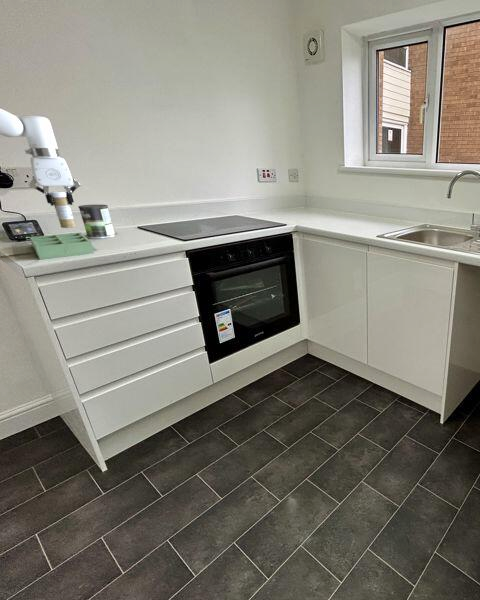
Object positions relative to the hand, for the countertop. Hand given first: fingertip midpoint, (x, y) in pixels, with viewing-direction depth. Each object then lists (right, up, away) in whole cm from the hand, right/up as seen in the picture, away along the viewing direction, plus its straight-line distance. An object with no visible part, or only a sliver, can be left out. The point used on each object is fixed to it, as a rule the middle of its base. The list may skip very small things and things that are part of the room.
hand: (61, 204), depth 134 cm
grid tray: (-3, -17, +4) cm, 18 cm away
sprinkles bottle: (0, -8, +3) cm, 9 cm away
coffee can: (-10, -7, +29) cm, 32 cm away
